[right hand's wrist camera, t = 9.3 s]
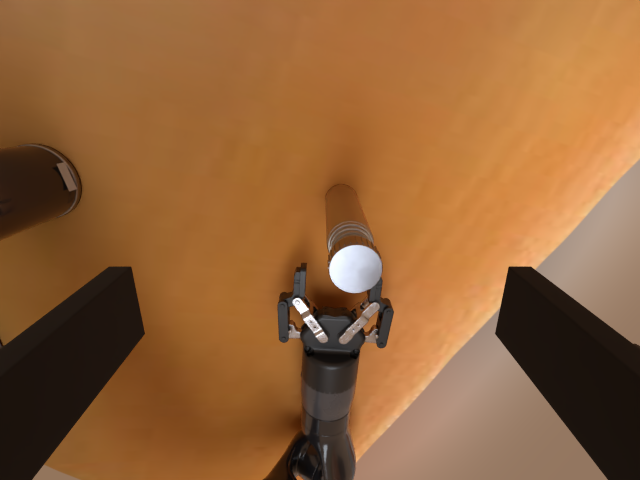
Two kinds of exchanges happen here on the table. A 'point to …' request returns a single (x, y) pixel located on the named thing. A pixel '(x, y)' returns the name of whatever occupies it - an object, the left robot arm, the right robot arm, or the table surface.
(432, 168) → the table surface
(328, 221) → the bottle
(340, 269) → the cap
